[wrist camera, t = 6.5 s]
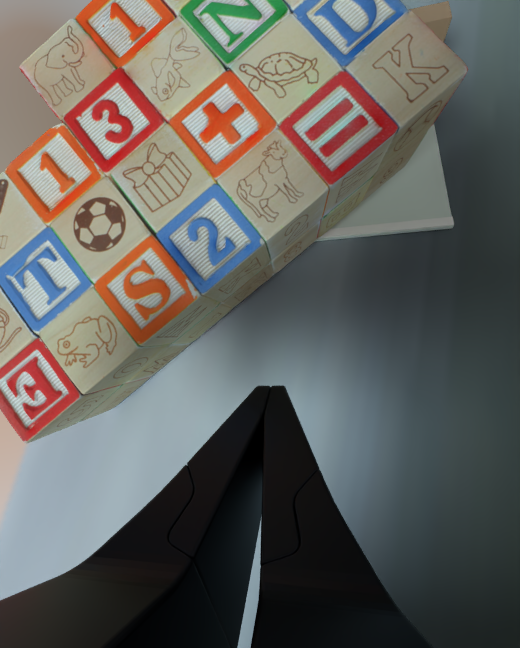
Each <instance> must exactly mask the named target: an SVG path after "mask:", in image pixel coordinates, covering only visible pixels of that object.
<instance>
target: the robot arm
mask: <svg viewBox="0 0 520 648" xmlns="http://www.w3.org/2000/svg"><path fill="white" fill-rule="evenodd" d="M187 465H188V466H187ZM187 465H185V466H184V467H183V468H182V469H181V470H180V471H179V473H178V474H177V475H176V476H175V477H174V478H173V479H172V480H171V481H170V482H169V483H168V484H167V485H166V486H165V487H164V488H163V489H162V491H161V492H159V493H158V494H157V495H156V496H155V497H154V498H153V499H152V500H151V501H150V502H149V503H148V504H147V505H146V506H145V507H144V508H143V509H142V510H141V511H140V512H138V513H137V514H136V515H135V516H134V517H133V518H132V519H131V520H130V521H129V522H128V523H126V524H125V525H124V526H123V527H122V528H121V529H120V530H119V531H118V532H117V533H116V534H114V535H113V536H112V537H111V538H110V539H109V540H108V541H107V542H106V543H105V544H104V545H103V546H101V547H100V548H99V549H98V550H97V551H96V552H95V553H94V554H92V555H91V556H90V557H89V558H87V559H86V560H85V561H83V562H82V563H81V564H79V565H78V566H76V567H74V568H73V569H71V570H69V571H68V572H66V573H64V574H62V575H60V576H57V577H55V578H53V579H50V580H48V581H46V582H43V583H41V584H38V585H36V586H34V587H31V588H29V589H27V590H24V591H22V592H19V593H17V594H15V595H12V596H10V597H8V598H5V599H3V600H0V648H237V646H238V641H239V635H240V630H241V624H242V619H243V613H244V608H245V602H246V597H247V591H248V586H249V580H250V575H251V569H252V564H253V559H254V553H255V548H256V542H257V537H258V531H259V526H260V520H261V515H262V521H261V563H260V564H261V569H260V589H259V601H258V607H257V613H256V619H255V625H254V631H253V637H252V643H251V648H434V647H433V646H432V645H431V644H430V643H429V642H428V641H427V640H426V639H425V638H424V636H423V635H422V634H421V633H420V632H419V631H418V630H417V629H416V628H415V627H414V626H413V624H412V623H411V622H410V621H409V620H408V619H407V618H406V617H405V616H404V614H403V613H402V612H401V611H400V609H399V608H398V607H397V605H396V604H395V603H394V601H393V600H392V598H391V597H390V595H389V594H388V592H387V591H386V589H385V588H384V586H383V585H382V583H381V581H380V580H379V578H378V577H377V575H376V573H375V572H374V570H373V568H372V566H371V565H370V563H369V561H368V560H367V558H366V556H365V555H364V553H363V551H362V549H361V548H360V546H359V544H358V543H357V541H356V539H355V538H354V536H353V534H352V532H351V531H350V529H349V527H348V526H347V524H346V522H345V520H344V519H343V517H342V515H341V513H340V511H339V509H338V508H337V506H336V504H335V502H334V500H333V498H332V496H331V494H330V491H329V489H328V487H327V485H326V483H325V480H324V478H323V476H322V473H321V471H320V470H319V467H318V464H317V462H316V459H315V457H314V455H313V452H312V450H311V447H310V445H309V443H308V440H307V438H306V436H305V433H304V431H303V428H302V426H301V424H300V421H299V419H298V417H297V414H296V412H295V409H294V407H293V405H292V402H291V400H290V397H289V395H288V393H287V390H286V388H285V386H272V387H270V386H257V387H256V388H255V389H254V390H253V391H252V392H251V393H250V394H249V396H248V397H247V398H246V399H245V400H244V401H243V402H242V403H241V404H240V406H239V407H238V408H237V409H236V410H235V411H234V412H233V413H232V414H231V415H230V417H229V418H228V419H227V420H226V421H225V422H224V423H223V424H222V425H221V426H220V428H219V429H218V430H217V431H216V432H215V433H214V434H213V435H212V436H211V437H210V439H209V440H208V441H207V442H206V443H205V444H204V445H203V446H202V447H201V448H200V450H199V451H198V452H197V453H196V454H195V455H194V456H193V457H192V458H191V460H190V461H189V462H188V463H187Z"/></svg>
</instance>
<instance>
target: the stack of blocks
mask: <svg viewBox="0 0 520 648" xmlns="http://www.w3.org/2000/svg"><path fill="white" fill-rule="evenodd" d="M19 67H20V70H21V72H22V73H23V74H24V75H25V76H26V78H27V79H28V80H29V81H30V83H31V84H32V85H33V87H34V88H35V89H36V90H37V91H38V93H39V94H40V95H41V96H42V98H43V99H44V100H45V102H46V103H47V105H48V106H49V107H50V108H51V110H52V111H53V112H54V114H55V115H56V116H57V117H58V118H59V119H60V120H61V121H62V122H63V123H62V124H58V125H56V126H54V127H52V128H50V129H49V130H48V131H47V132H45V133H44V134H43V135H42V136H41V137H40V138H39V139H37V140H36V141H35V142H34V143H33V144H31V145H30V146H29V147H28V148H27V149H25V150H24V151H23V152H22V153H21V154H20V155H19V156H18V157H17V158H16V159H15V160H13V161H12V162H11V163H10V164H9V165H8V166H7V168H6V170H5V172H2V173H0V409H1V411H2V412H3V414H4V415H5V417H6V418H7V419H8V421H9V423H10V424H11V425H12V427H13V428H14V429H15V431H16V432H17V434H18V435H19V436H20V438H21V439H22V440H23V441H24V443H29V442H32V441H35V440H37V439H40V438H42V437H44V436H47V435H49V434H52V433H54V432H57V431H59V430H62V429H65V428H67V427H69V426H72V425H74V424H76V423H78V422H80V421H84V420H86V419H89V418H91V417H93V416H96V415H98V414H101V413H103V412H106V411H108V410H110V409H112V408H114V407H116V406H117V405H118V404H120V403H121V402H122V401H123V400H124V399H125V398H127V397H128V396H129V395H130V394H132V393H133V392H134V391H135V390H136V389H138V388H139V387H140V386H141V385H142V384H144V383H145V382H146V381H147V380H148V379H149V378H150V377H151V376H152V375H154V374H155V373H156V372H158V371H159V370H160V369H161V368H162V367H164V366H165V365H166V364H167V363H168V362H170V361H171V360H172V359H173V358H174V357H176V356H177V355H178V354H179V353H180V352H182V351H183V350H184V349H185V348H187V347H188V346H189V345H190V344H191V342H193V341H194V340H196V339H197V338H199V337H200V336H201V335H202V334H203V333H205V332H206V331H207V330H208V329H209V328H211V327H212V326H213V325H214V324H215V323H217V322H218V321H219V320H220V319H221V318H223V317H224V316H225V315H226V314H227V313H228V312H229V311H230V310H231V309H232V308H234V307H235V306H237V305H238V304H239V303H240V302H242V301H243V300H244V299H245V298H246V297H248V296H249V295H250V294H251V293H253V292H254V291H255V290H256V289H257V288H258V287H259V286H261V285H262V284H263V283H265V282H266V281H267V280H269V279H270V278H271V277H272V276H273V275H274V274H276V273H277V272H279V271H280V270H281V269H282V268H284V267H285V266H286V265H287V264H288V263H289V262H291V261H292V260H293V259H294V258H295V257H297V256H298V255H299V254H300V253H302V252H303V251H304V250H305V249H306V248H308V247H309V246H310V245H311V244H312V243H313V242H315V241H316V239H317V238H319V237H321V236H322V235H323V234H325V233H326V232H327V231H328V230H329V229H331V228H332V227H333V226H334V225H335V224H337V223H338V222H339V221H340V220H341V219H343V218H344V217H345V216H346V215H348V214H349V213H350V212H351V211H352V210H353V209H355V208H356V207H357V206H358V205H359V204H360V203H361V202H362V201H363V200H365V199H366V198H367V197H369V196H370V195H371V194H372V193H373V192H375V191H376V190H377V189H378V188H379V187H381V186H382V185H383V184H384V183H385V182H386V181H388V180H389V179H390V178H391V177H393V176H394V175H395V174H396V173H397V172H398V171H400V170H401V169H402V168H403V167H405V166H406V164H407V163H408V161H409V160H410V158H411V157H412V155H413V154H414V152H415V151H416V149H417V148H418V146H419V144H420V143H421V141H422V140H423V138H424V137H425V135H426V133H427V131H428V129H429V128H430V127H431V126H432V125H433V124H434V122H435V121H436V119H437V118H438V116H439V115H440V113H441V112H442V110H443V109H444V107H445V106H446V104H447V102H448V101H449V99H450V98H451V96H452V95H453V93H454V92H455V90H456V89H457V87H458V86H459V84H460V83H461V81H462V80H463V78H464V77H465V75H466V73H467V71H468V68H467V66H466V64H465V63H464V62H463V61H462V60H461V59H460V58H459V57H458V56H457V55H456V54H455V53H454V52H453V51H452V50H451V49H450V48H449V47H448V46H447V45H446V44H445V43H444V42H443V41H441V40H440V39H439V38H438V37H437V36H436V35H435V33H434V32H433V31H432V30H431V29H430V28H429V27H428V26H427V25H426V24H425V23H424V22H423V21H422V20H421V19H420V18H419V17H418V16H417V15H415V14H414V13H413V12H412V11H411V10H407V9H406V7H405V6H404V5H403V3H402V2H401V1H400V0H92V1H91V2H90V3H89V4H88V5H87V6H86V7H85V8H84V9H83V10H82V11H81V12H80V13H79V15H77V17H76V18H75V19H70V20H69V21H68V22H67V23H66V24H64V25H63V26H62V27H61V28H60V29H59V30H58V31H57V32H56V33H54V34H53V35H52V36H51V37H50V38H49V39H48V40H47V41H46V42H45V43H44V44H43V45H42V46H40V47H39V48H38V49H37V50H36V51H35V52H34V53H33V54H32V55H31V56H29V57H28V59H26V60H25V61H24V62H23V63H22V64H21V65H20V66H19Z"/></svg>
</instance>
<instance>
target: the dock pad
mask: <svg viewBox="0 0 520 648" xmlns="http://www.w3.org/2000/svg"><path fill="white" fill-rule="evenodd" d="M409 10H411V11H412V12H413V13H414V14H415V15H417V16H418V17H419V18H420V19H421V20H422V21H423V22H424V23H425V24H426V25H427V26H428V27H429V28H430V29H431V30H432V31H433V32H434V33H435V35H436V36H437V37H438V38H439V39H440V40H441V41H443V42H444V40H445V37H446V34H447V31H448V28H449V25H450V22H451V19H452V15H451V10H450V6H449V2H448V1H446V2H442V3H437V4H433V5H428V6H423V7H419V8H414V9H409ZM453 225H454V221H453V217H452V216H451V210H450V205H449V200H448V194H447V189H446V184H445V179H444V173H443V168H442V163H441V157H440V152H439V147H438V142H437V136H436V131H435V126H434V124H433V125H432V126H431V127H430V128H429V129H428V131H427V133H426V135H425V137H424V138H423V140H422V141H421V143H420V144H419V146H418V148H417V149H416V151H415V152H414V154H413V155H412V157H411V158H410V160H409V161H408V163H407V164H406V166H405V167H403V168H402V169H401V170H400V171H398V172H397V173H396V174H395V175H394V176H393V177H391V178H390V179H389V180H388V181H386V182H385V183H384V184H383V185H382V186H381V187H379V188H378V189H377V190H376V191H375V192H373V193H372V194H371V195H370V196H369V197H367V198H366V199H365V200H363V201H362V202H361V203H360V204H359V205H358V206H357V207H356V208H355V209H353V210H352V211H351V212H350V213H349V214H348V215H346V216H345V217H344V218H343V219H341V220H340V221H339V222H338V223H337V224H335V225H334V226H333V227H332V228H331V229H329V230H328V231H327V232H326V233H325V234H323V235H322V236H321V237H319V238H317V239H316V241H324V240H335V239H346V238H356V237H367V236H377V235H388V234H399V233H409V232H420V231H431V230H441V229H452V228H453Z"/></svg>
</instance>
